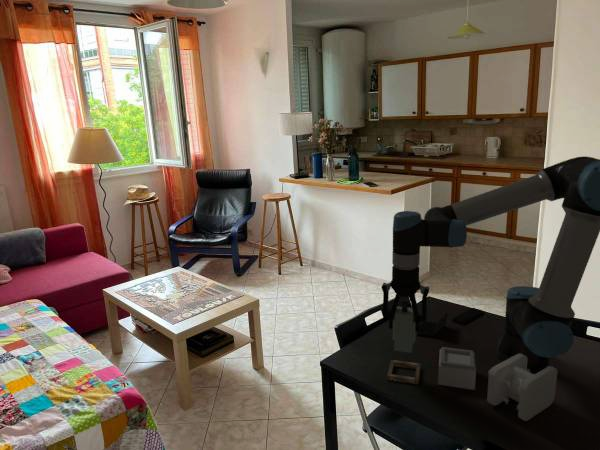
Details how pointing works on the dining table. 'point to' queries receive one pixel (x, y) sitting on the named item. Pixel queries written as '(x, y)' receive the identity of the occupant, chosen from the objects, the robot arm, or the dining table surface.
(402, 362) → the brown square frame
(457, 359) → the grey square recessed block
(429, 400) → the dining table surface
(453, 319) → the remote control
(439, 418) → the dining table surface
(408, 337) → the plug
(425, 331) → the handheld gaming console
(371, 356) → the dining table surface
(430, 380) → the dining table surface
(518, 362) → the cable organizer
